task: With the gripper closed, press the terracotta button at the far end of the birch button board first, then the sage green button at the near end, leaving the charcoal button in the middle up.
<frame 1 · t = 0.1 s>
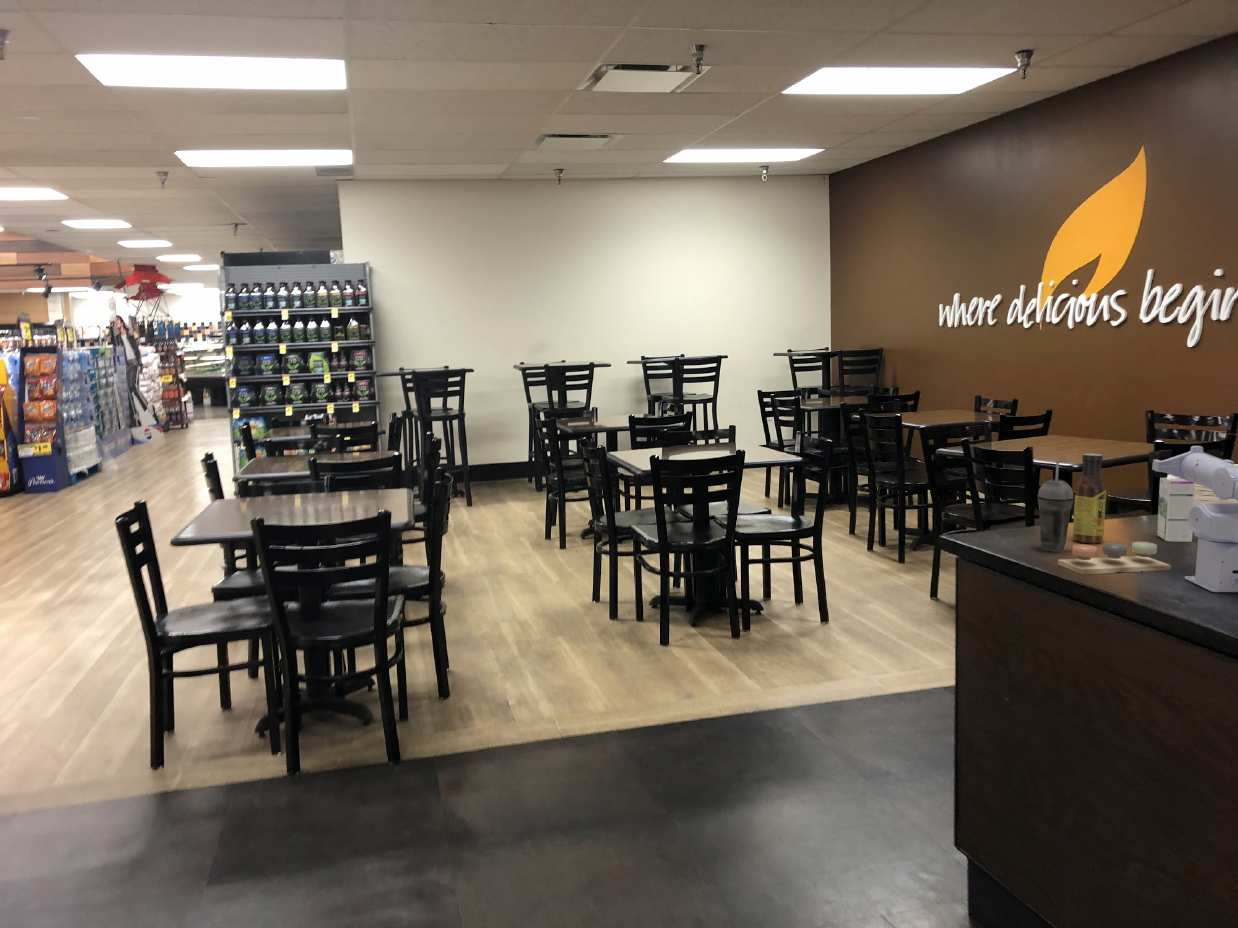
hand: (1170, 456, 191), 22 cm above the table, tool horizontal, fingers open, 7 cm apart
beverage cup: (1052, 550, 204), on the table
sage button: (1144, 549, 189), point 3 cm above the table, slide at 0.0 cm
charcoal button: (1114, 551, 188), point 3 cm above the table, slide at 0.0 cm
button board: (1113, 567, 189), on the table
syrup box: (1173, 539, 212), on the table
sauce bottle: (1087, 542, 211), on the table
terracotta button: (1084, 552, 187), point 3 cm above the table, slide at 0.0 cm
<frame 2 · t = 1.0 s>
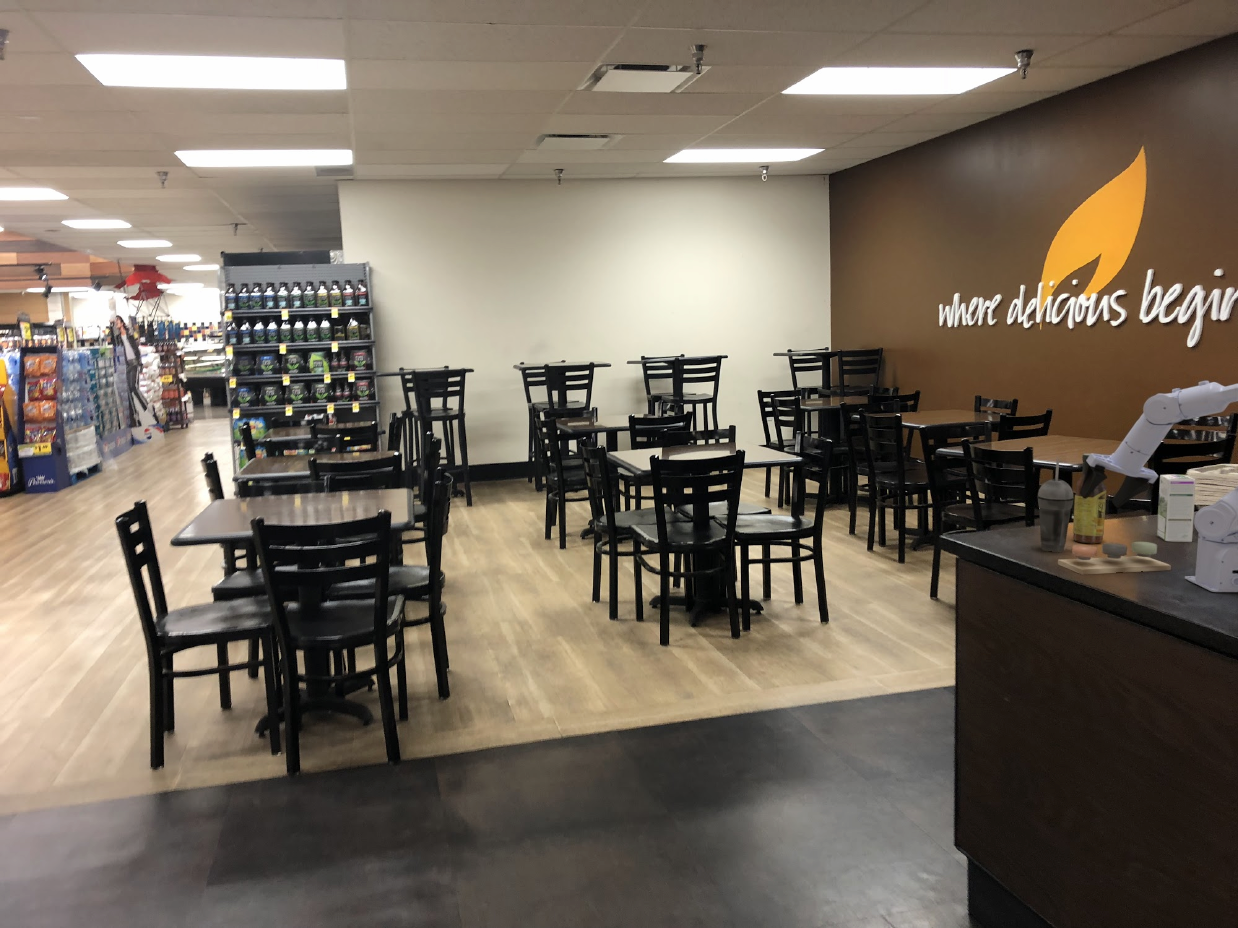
hand: (1099, 500, 191), 13 cm above the table, tool tilted 30°, fingers open, 7 cm apart
nothing on the table moved.
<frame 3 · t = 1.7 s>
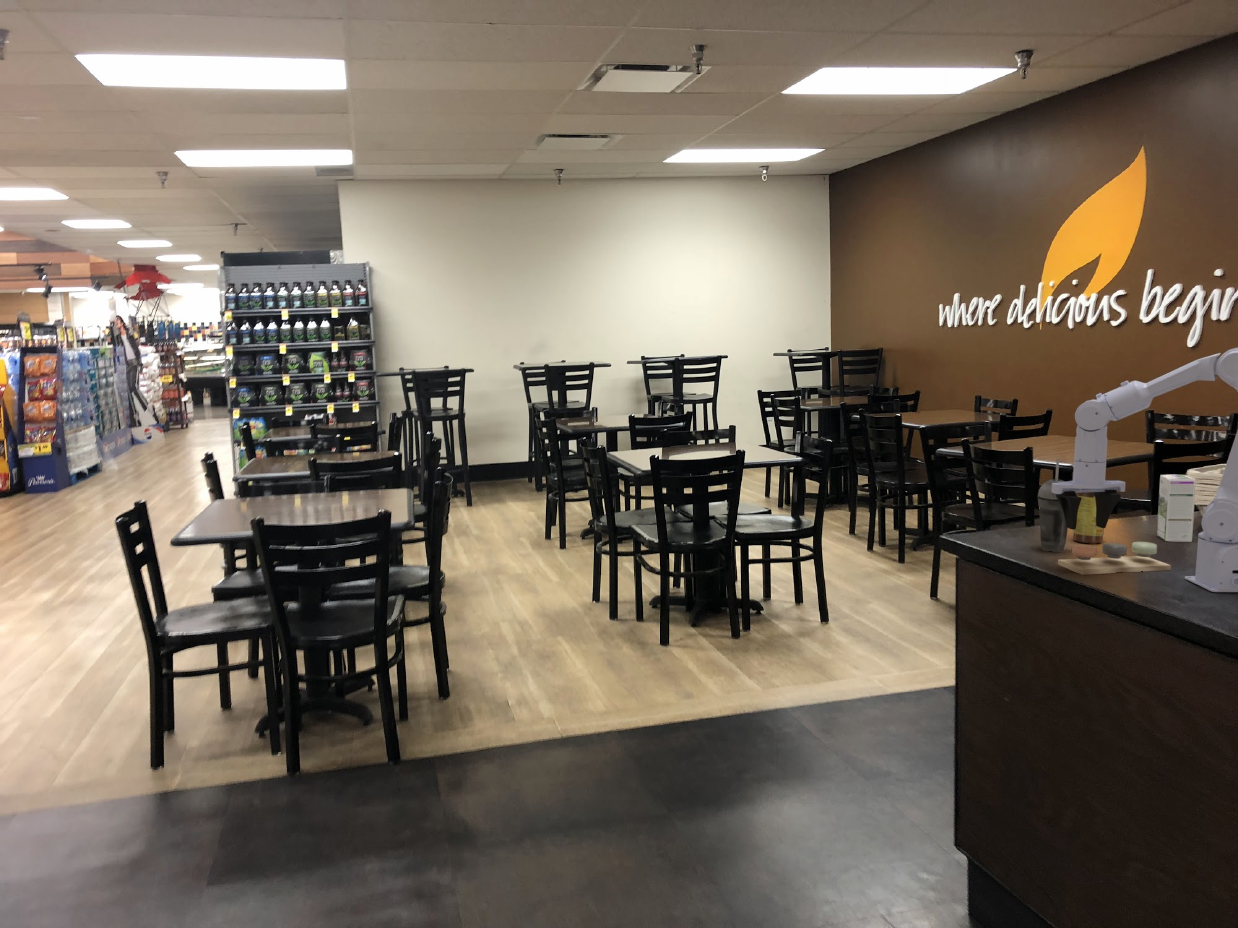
hand: (1085, 527, 187), 8 cm above the table, tool pointing down, fingers open, 6 cm apart
nothing on the table moved.
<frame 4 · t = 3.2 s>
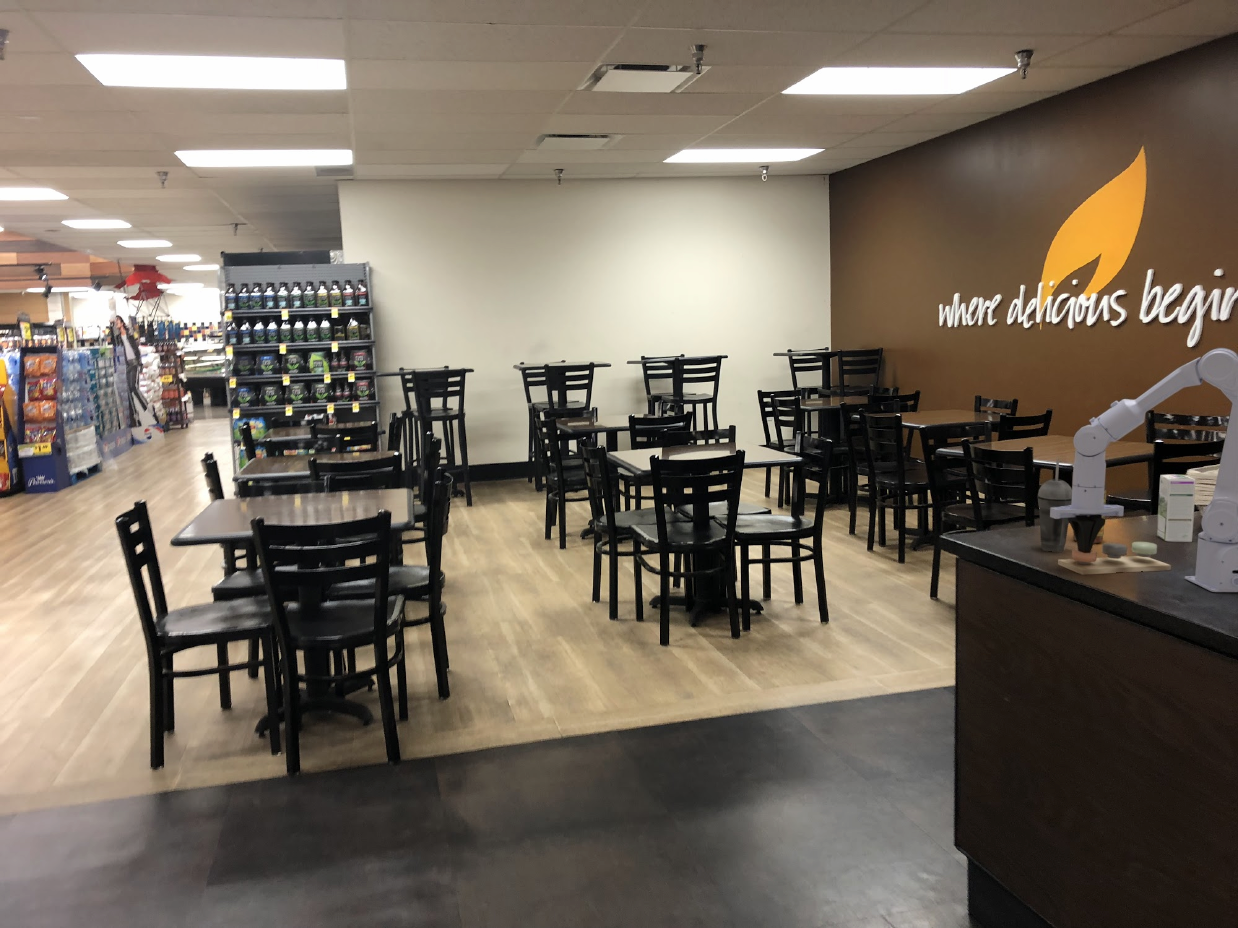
hand: (1084, 552, 187), 3 cm above the table, tool pointing down, fingers closed, pressing on terracotta button
terracotta button: (1084, 557, 187), point 2 cm above the table, slide at 1.0 cm, touching gripper
everything else where it was.
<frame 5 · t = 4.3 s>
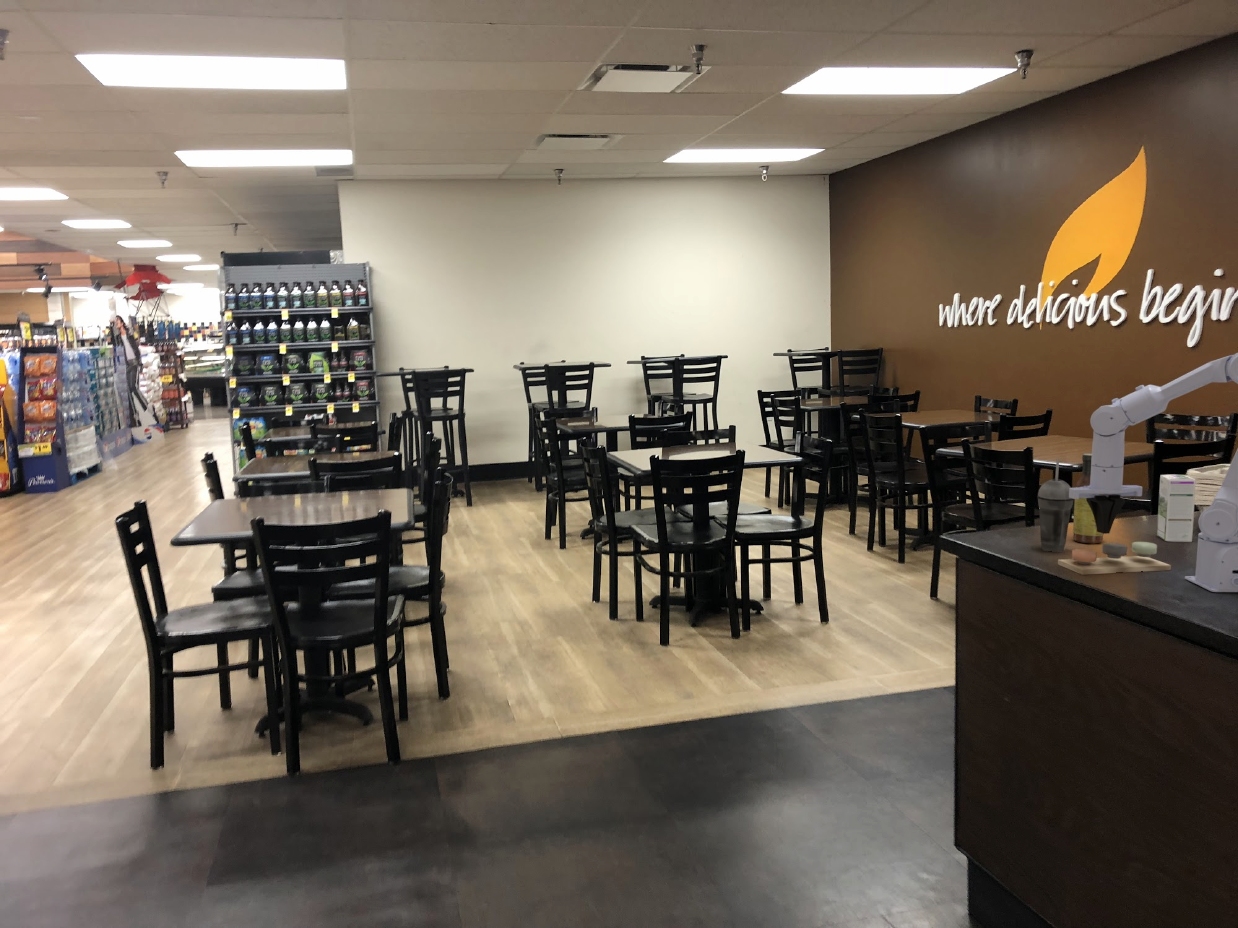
hand: (1103, 532, 187), 7 cm above the table, tool pointing down, fingers closed
terracotta button: (1084, 557, 187), point 2 cm above the table, slide at 1.0 cm
everything else where it was.
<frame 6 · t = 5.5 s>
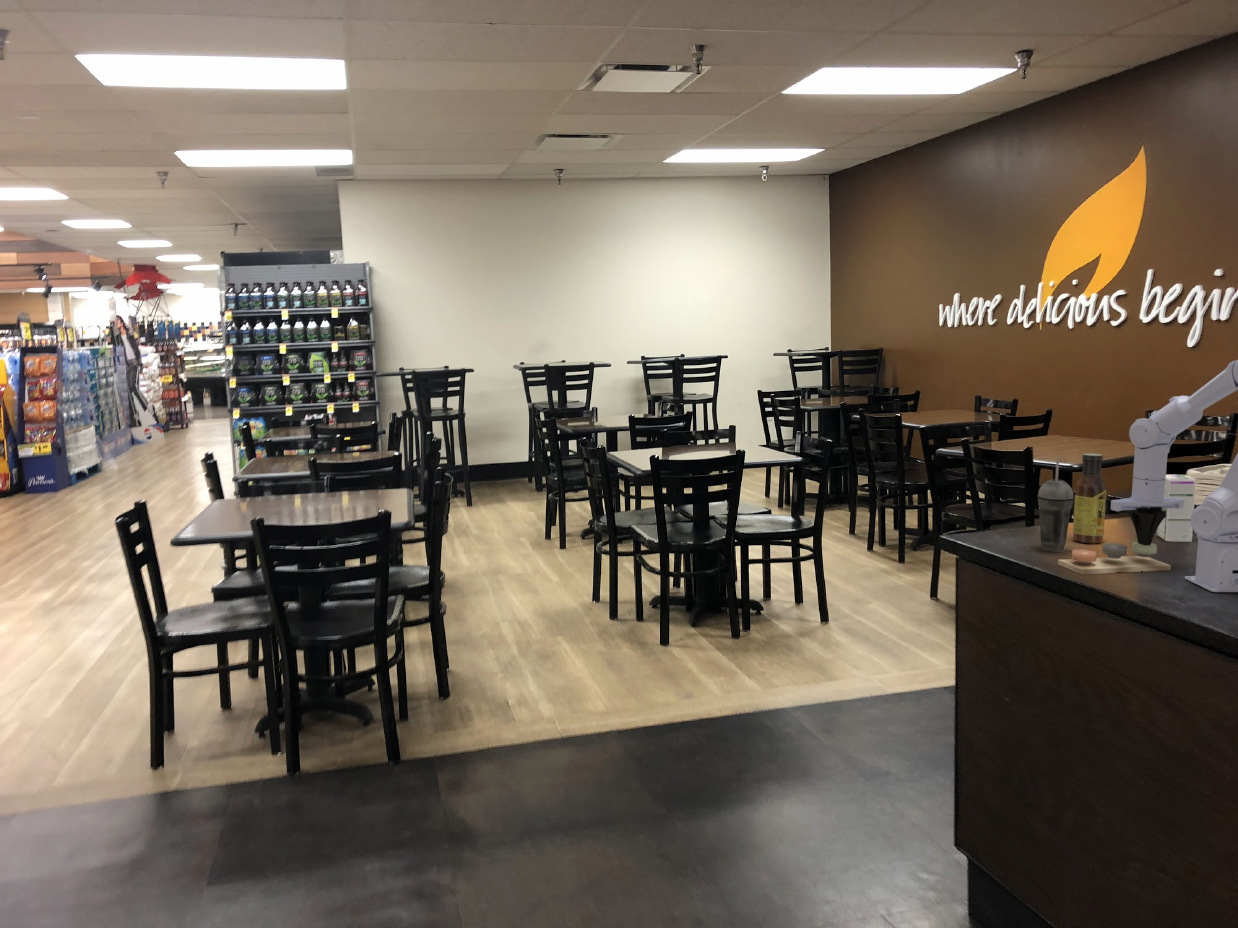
hand: (1144, 544, 189), 4 cm above the table, tool pointing down, fingers closed, pressing on sage button
sage button: (1144, 549, 189), point 3 cm above the table, slide at 0.0 cm, touching gripper
everything else where it was.
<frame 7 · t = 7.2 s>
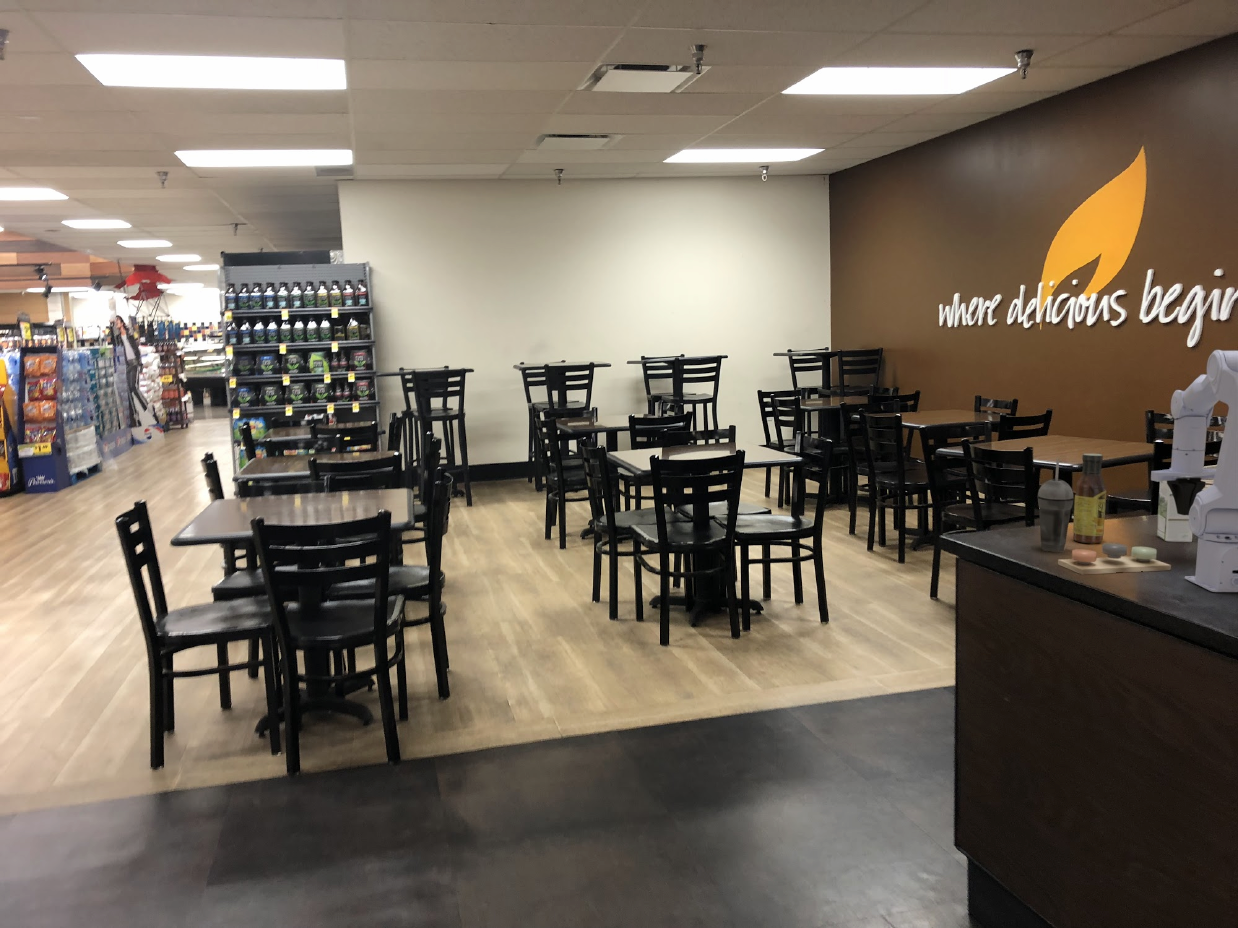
hand: (1183, 514, 193), 9 cm above the table, tool pointing down, fingers closed
sage button: (1143, 554, 189), point 2 cm above the table, slide at 1.0 cm
everything else where it was.
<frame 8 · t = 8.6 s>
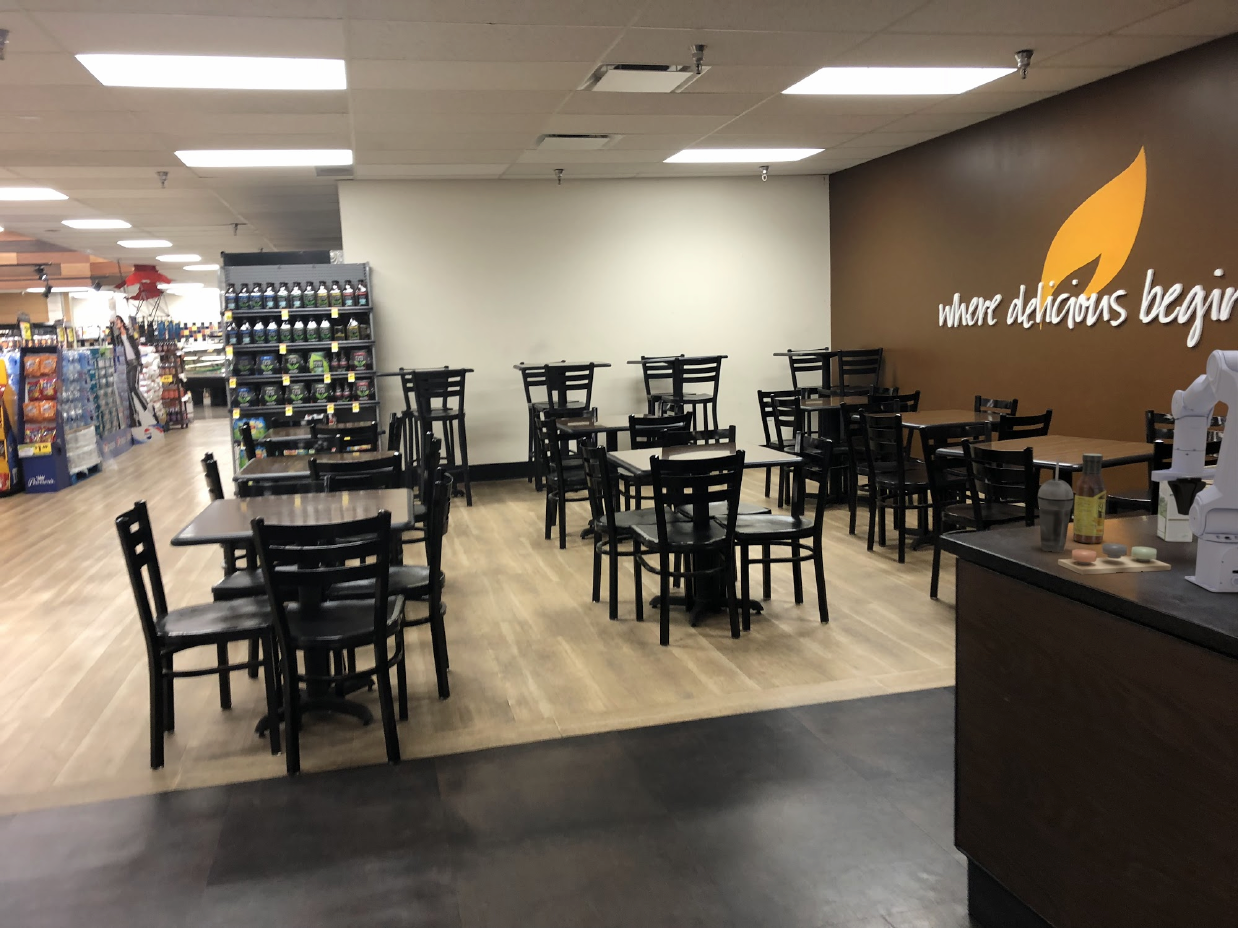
hand: (1184, 514, 193), 9 cm above the table, tool pointing down, fingers closed
nothing on the table moved.
at the end: terracotta button slide at 1.0 cm; sage button slide at 1.0 cm; charcoal button slide at 0.0 cm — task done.
